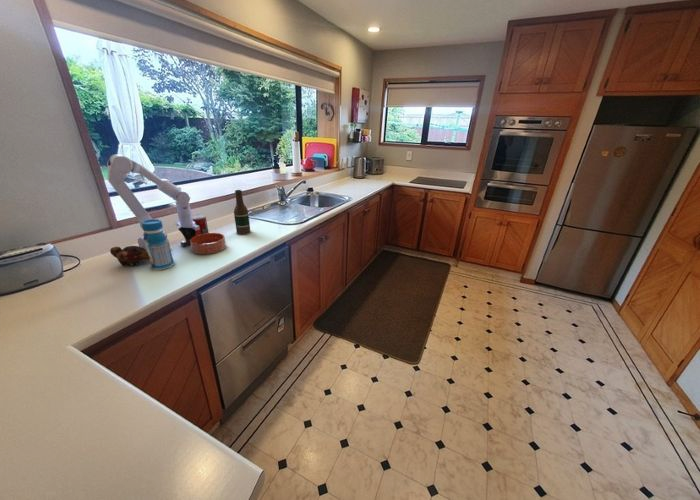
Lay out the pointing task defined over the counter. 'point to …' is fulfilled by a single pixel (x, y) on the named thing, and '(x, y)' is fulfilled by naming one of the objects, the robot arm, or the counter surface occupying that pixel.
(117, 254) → the decorative turtle
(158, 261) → the beverage bottle
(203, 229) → the canned food
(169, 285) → the counter surface
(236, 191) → the beer bottle
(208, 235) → the bowl
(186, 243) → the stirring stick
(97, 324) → the counter surface
